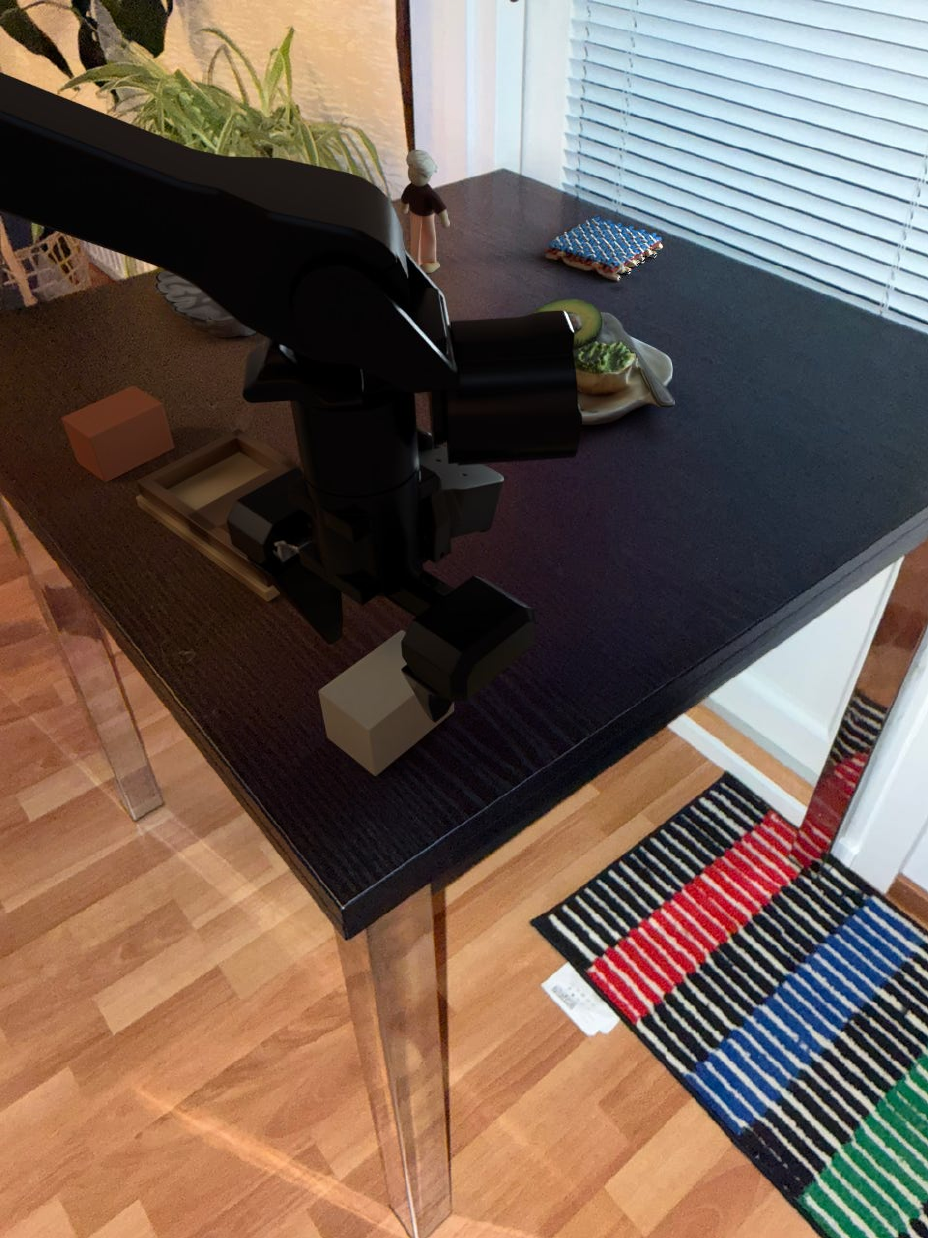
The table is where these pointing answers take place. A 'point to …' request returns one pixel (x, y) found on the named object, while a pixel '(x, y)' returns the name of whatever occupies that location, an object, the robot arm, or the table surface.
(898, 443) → the table surface
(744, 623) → the table surface
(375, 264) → the robot arm
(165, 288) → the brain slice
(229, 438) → the wooden divided tray
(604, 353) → the salad plate
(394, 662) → the cream block
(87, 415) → the orange rectangular block
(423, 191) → the grandmother figurine
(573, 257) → the woven mat
